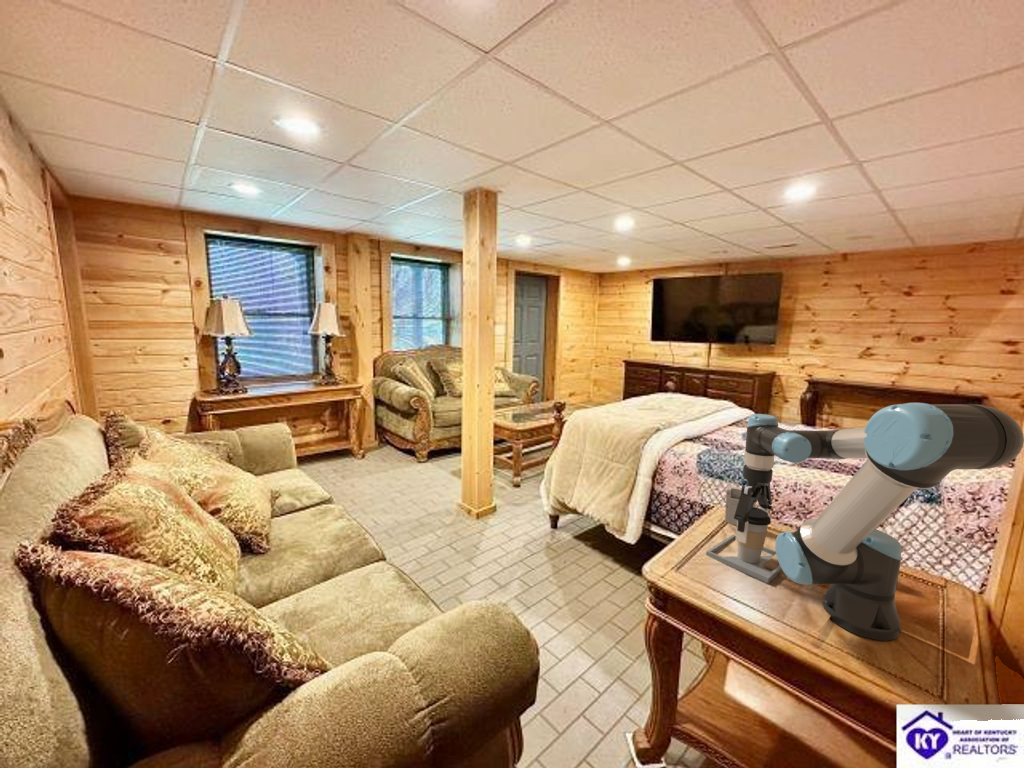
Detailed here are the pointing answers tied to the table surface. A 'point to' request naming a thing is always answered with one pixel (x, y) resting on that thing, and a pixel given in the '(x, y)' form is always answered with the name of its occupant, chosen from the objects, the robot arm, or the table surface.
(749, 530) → the coffee cup
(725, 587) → the table surface
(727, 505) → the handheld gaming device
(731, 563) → the grey tray
